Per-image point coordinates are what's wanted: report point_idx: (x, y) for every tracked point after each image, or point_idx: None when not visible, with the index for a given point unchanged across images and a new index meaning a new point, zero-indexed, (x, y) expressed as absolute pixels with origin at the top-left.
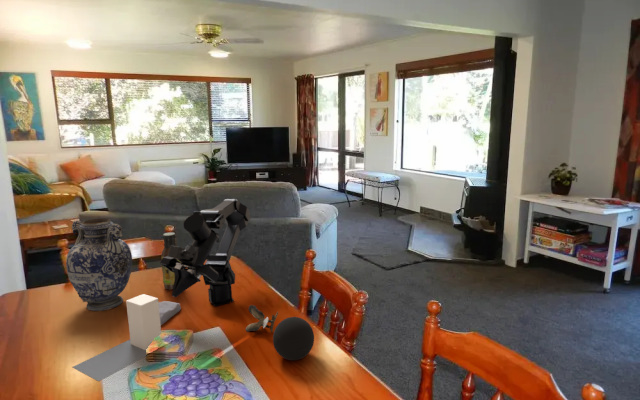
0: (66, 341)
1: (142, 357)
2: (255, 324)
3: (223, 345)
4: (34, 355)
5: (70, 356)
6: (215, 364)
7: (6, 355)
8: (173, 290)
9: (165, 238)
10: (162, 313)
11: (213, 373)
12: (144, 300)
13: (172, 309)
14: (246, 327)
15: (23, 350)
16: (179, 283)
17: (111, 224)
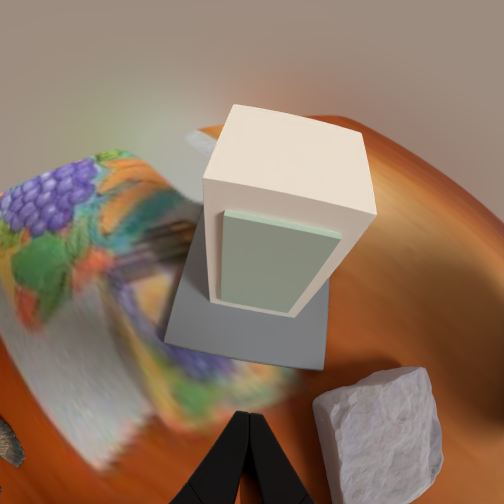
0: (446, 236)
1: (202, 212)
2: None
3: (25, 346)
4: (431, 187)
5: (382, 194)
6: (21, 258)
7: (455, 182)
8: (264, 440)
9: None
10: (339, 424)
11: (20, 229)
12: (269, 140)
13: (341, 484)
14: (4, 440)
15: (456, 197)
16: (211, 495)
17: None
